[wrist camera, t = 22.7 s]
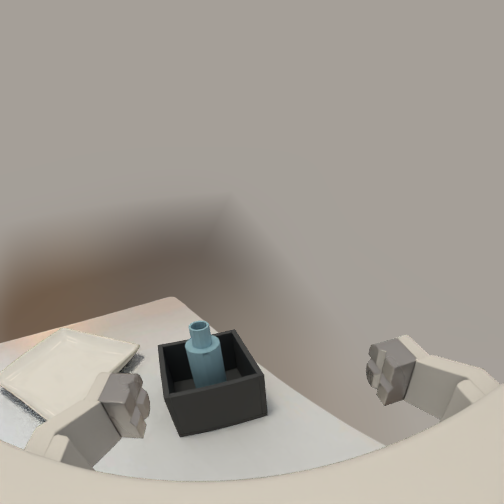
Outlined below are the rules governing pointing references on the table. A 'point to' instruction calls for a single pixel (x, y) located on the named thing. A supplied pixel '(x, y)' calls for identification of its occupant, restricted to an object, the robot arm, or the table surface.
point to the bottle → (204, 355)
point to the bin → (212, 388)
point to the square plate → (63, 369)
